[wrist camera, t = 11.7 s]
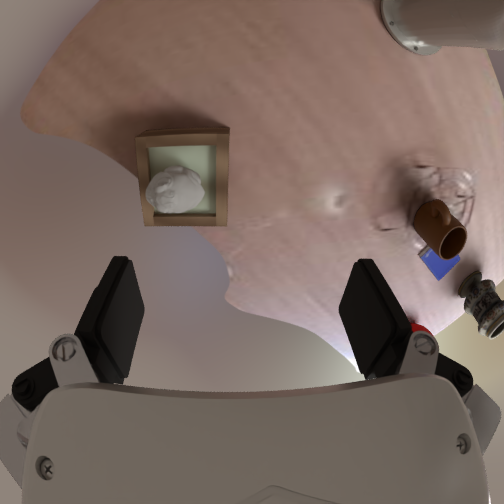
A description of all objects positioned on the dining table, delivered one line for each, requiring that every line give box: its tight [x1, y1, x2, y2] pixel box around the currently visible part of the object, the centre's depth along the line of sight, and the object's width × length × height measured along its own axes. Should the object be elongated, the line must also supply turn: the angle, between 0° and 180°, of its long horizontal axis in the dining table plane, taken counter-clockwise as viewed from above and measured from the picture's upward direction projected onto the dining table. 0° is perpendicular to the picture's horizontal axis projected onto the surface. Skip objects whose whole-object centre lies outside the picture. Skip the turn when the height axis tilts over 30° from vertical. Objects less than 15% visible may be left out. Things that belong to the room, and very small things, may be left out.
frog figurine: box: [145, 165, 205, 214], centre depth 32 cm, size 6×7×7 cm
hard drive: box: [419, 246, 460, 280], centre depth 51 cm, size 2×8×12 cm
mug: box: [414, 199, 467, 260], centre depth 40 cm, size 12×8×9 cm, turn 36°
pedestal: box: [135, 128, 230, 226], centre depth 36 cm, size 13×12×5 cm
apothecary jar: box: [458, 271, 504, 339], centre depth 51 cm, size 12×12×18 cm
